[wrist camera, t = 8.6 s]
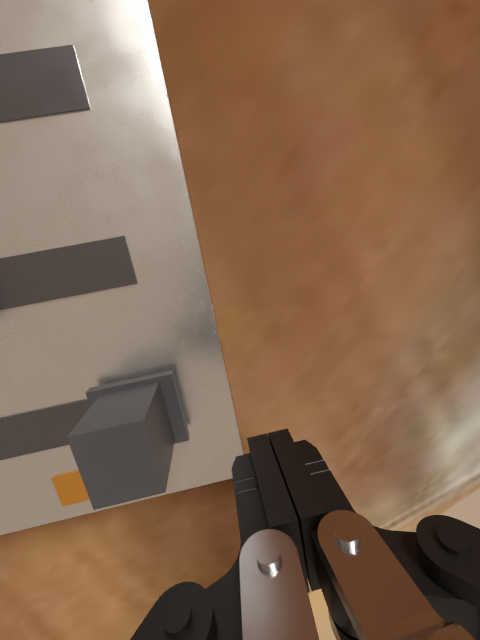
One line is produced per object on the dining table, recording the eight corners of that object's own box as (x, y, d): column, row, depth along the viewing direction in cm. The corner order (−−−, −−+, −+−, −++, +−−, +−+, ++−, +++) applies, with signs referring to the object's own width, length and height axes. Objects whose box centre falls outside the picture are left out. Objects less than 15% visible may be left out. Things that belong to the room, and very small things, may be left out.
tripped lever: (172, 369, 15) (159, 410, 11) (189, 433, 16) (183, 493, 12) (90, 387, 15) (45, 436, 11) (111, 452, 16) (78, 519, 12)
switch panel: (136, -53, 13) (123, -111, 11) (243, 453, 20) (247, 475, 18) (-338, 0, 12) (-452, -54, 10) (-59, 525, 18) (-93, 559, 16)
